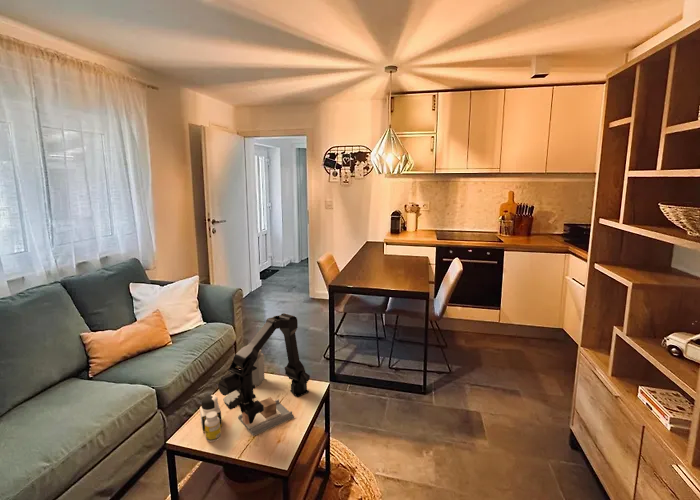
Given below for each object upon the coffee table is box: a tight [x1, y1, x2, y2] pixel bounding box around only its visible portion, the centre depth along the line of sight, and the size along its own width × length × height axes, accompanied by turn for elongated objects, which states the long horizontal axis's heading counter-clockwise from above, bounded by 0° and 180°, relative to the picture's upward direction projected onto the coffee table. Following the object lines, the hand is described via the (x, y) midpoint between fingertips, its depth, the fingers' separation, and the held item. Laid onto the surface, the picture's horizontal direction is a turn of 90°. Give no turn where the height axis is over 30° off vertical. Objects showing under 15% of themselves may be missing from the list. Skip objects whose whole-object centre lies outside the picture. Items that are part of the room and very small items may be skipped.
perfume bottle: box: [252, 349, 266, 387], centre depth 181 cm, size 7×7×18 cm
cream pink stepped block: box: [241, 409, 281, 429], centre depth 153 cm, size 14×7×5 cm, turn 129°
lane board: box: [237, 399, 295, 437], centre depth 155 cm, size 18×14×2 cm
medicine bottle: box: [199, 394, 223, 433], centre depth 150 cm, size 7×7×12 cm
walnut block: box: [259, 397, 276, 418], centre depth 155 cm, size 5×5×5 cm
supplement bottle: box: [204, 411, 222, 443], centre depth 143 cm, size 5×5×10 cm
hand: (247, 419), depth 149 cm, fingers open, 6 cm apart
